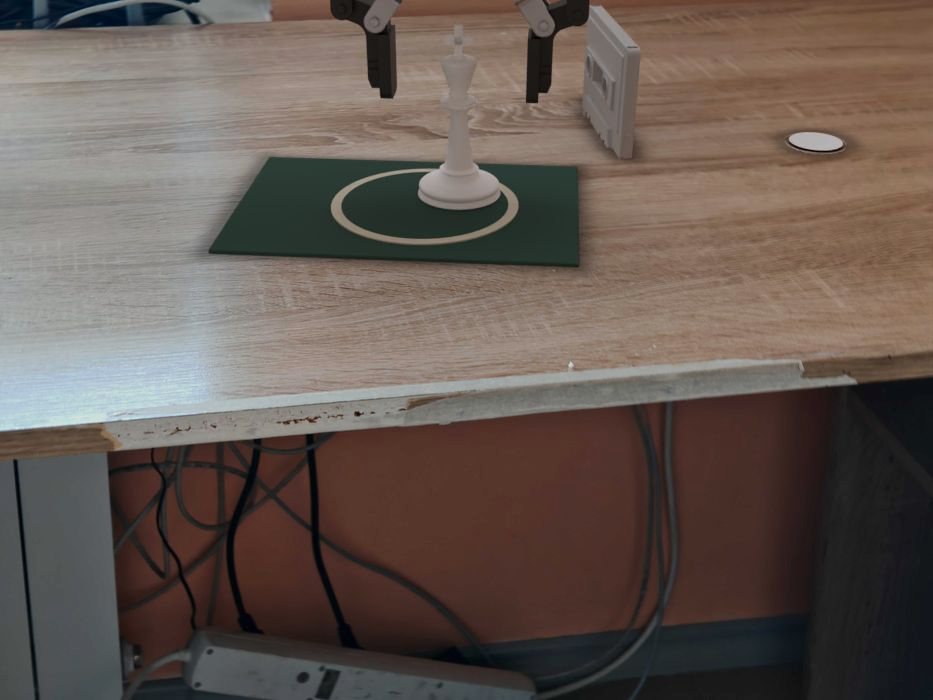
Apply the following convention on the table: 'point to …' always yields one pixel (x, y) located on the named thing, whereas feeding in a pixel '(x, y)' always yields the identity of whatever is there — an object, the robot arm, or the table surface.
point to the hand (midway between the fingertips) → (460, 96)
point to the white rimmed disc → (815, 142)
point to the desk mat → (403, 215)
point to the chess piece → (459, 140)
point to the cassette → (610, 81)
